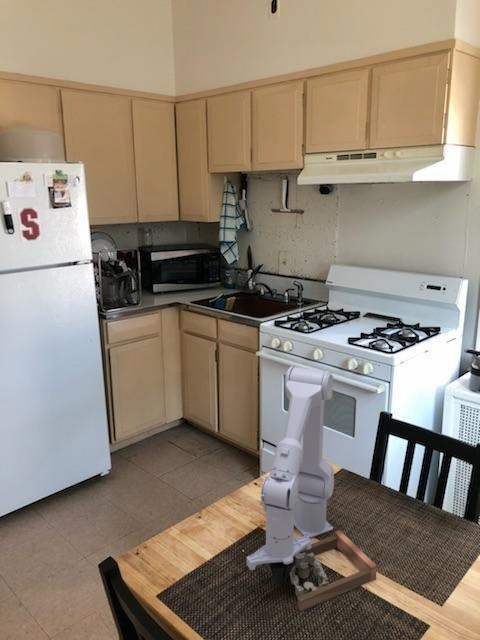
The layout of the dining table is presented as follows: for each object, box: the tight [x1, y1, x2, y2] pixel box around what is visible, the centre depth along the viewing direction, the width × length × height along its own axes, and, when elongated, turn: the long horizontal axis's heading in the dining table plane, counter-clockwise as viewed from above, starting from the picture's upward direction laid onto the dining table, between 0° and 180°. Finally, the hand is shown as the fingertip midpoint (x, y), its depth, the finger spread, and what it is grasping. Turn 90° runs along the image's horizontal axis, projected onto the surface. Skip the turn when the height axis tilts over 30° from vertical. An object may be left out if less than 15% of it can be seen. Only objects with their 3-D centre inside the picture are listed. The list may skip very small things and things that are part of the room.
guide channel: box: [268, 529, 378, 612], centre depth 115 cm, size 13×20×4 cm
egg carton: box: [289, 552, 329, 597], centre depth 113 cm, size 11×8×4 cm
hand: (279, 585), depth 111 cm, fingers closed
